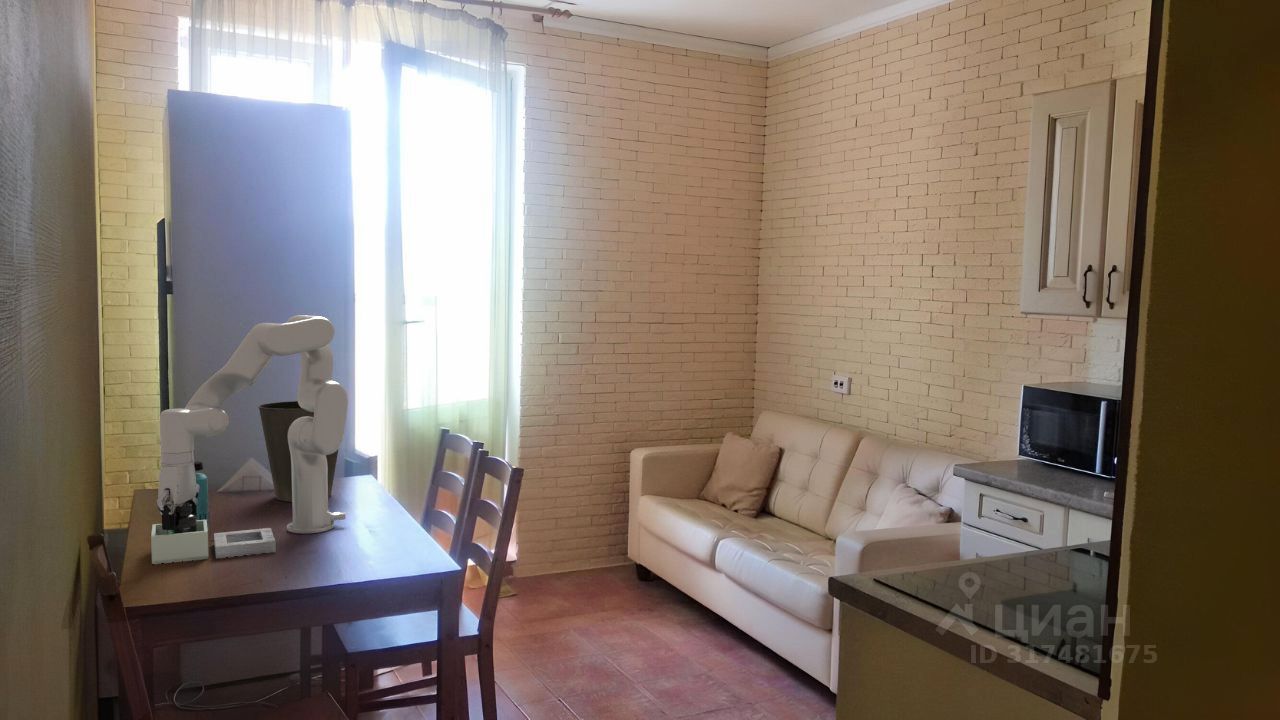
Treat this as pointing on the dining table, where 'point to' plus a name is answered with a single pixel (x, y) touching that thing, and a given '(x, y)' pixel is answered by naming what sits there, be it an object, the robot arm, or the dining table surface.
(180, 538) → the bin
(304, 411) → the waste basket
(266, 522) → the dining table surface
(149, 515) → the dining table surface
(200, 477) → the beverage bottle
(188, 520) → the supplement bottle
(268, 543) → the socket block
